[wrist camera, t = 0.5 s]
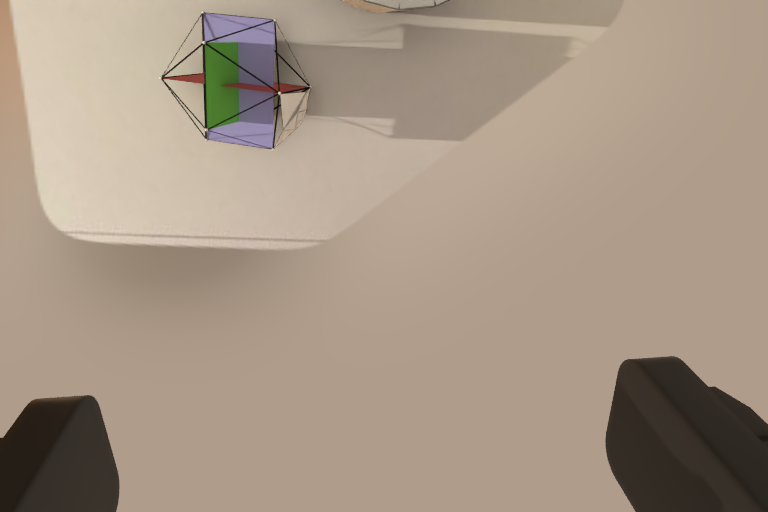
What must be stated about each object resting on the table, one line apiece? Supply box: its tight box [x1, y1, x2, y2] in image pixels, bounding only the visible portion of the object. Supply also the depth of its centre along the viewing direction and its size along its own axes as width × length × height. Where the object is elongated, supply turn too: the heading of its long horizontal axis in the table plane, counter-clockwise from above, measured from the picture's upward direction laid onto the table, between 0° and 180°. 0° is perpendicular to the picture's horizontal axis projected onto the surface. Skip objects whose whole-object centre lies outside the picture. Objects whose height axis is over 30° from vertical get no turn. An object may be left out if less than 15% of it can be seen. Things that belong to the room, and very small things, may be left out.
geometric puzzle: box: [159, 11, 312, 151], centre depth 31 cm, size 7×7×8 cm
